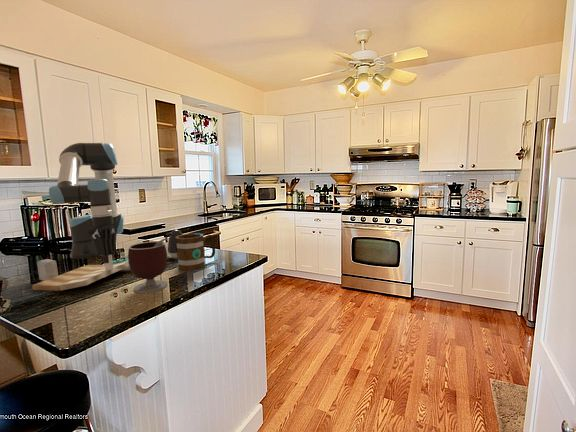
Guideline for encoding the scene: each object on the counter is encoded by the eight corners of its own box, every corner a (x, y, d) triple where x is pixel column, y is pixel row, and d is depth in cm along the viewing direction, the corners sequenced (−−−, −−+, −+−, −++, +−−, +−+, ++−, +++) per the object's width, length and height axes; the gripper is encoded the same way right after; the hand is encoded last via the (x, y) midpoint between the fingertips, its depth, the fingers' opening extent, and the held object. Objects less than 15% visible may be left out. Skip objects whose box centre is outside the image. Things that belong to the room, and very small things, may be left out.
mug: (183, 272, 140) (181, 240, 138) (172, 266, 151) (170, 236, 149) (222, 263, 153) (220, 233, 151) (210, 258, 163) (208, 230, 161)
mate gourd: (123, 293, 117) (117, 241, 115) (145, 281, 131) (140, 234, 128) (161, 294, 115) (156, 241, 113) (179, 281, 129) (175, 234, 126)
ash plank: (110, 269, 150) (109, 265, 150) (132, 264, 148) (130, 260, 148) (60, 290, 123) (58, 285, 123) (85, 285, 121) (84, 280, 121)
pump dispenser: (164, 257, 168) (162, 230, 166) (182, 253, 176) (180, 227, 173) (172, 261, 161) (170, 232, 159) (191, 256, 168) (189, 229, 166)
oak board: (87, 268, 152) (87, 264, 152) (109, 269, 151) (108, 265, 150) (32, 290, 125) (32, 285, 125) (58, 290, 123) (58, 285, 123)
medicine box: (59, 279, 138) (56, 260, 136) (47, 282, 134) (44, 263, 133) (50, 277, 142) (48, 258, 140) (39, 280, 138) (36, 261, 137)
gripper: (98, 217, 124) (106, 274, 127) (120, 213, 137) (127, 265, 140) (82, 218, 126) (90, 274, 128) (105, 214, 138) (112, 265, 141)
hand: (109, 269), depth 134 cm, fingers closed
